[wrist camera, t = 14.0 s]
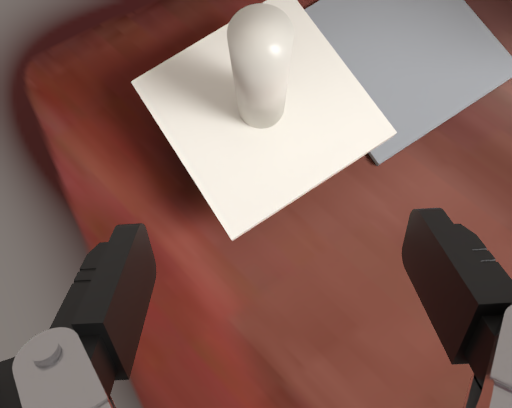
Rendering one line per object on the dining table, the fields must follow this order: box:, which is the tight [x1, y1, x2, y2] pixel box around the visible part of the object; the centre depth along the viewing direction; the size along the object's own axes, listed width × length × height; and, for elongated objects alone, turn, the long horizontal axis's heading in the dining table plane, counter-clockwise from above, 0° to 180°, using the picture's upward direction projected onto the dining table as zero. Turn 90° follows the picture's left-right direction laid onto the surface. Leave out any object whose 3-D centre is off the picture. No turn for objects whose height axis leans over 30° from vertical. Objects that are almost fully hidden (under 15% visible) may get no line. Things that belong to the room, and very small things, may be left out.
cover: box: [131, 0, 397, 241], centre depth 25 cm, size 15×15×10 cm
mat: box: [304, 0, 512, 166], centre depth 37 cm, size 17×17×1 cm
